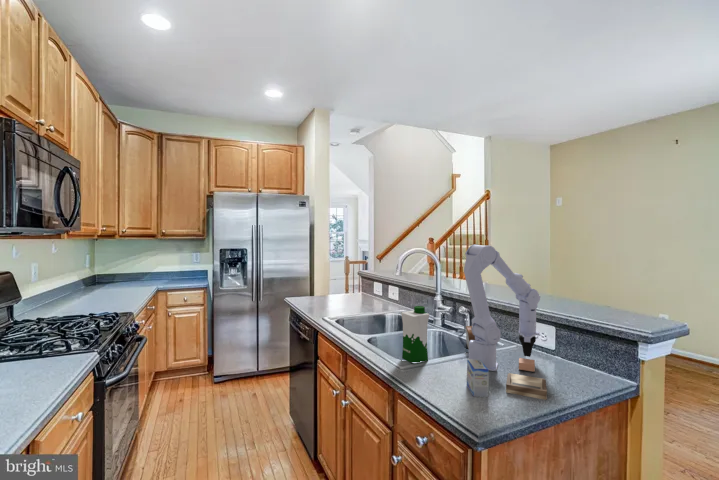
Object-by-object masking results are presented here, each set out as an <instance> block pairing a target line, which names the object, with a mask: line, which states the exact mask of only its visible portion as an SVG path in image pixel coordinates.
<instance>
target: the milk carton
mask: <svg viewBox="0 0 719 480" xmlns="http://www.w3.org/2000/svg"><path fill="white" fill-rule="evenodd" d="M413 309H414V310H413ZM413 309H412V310H406V311H402V312H401V313H400V314H401V319H402V320H401V321H402V354H401V358H402V359H403V360H404V361H406V362H408V363H410V362H420V361H425V362H428V361H429V355H428V353H429V352H428V322H429V319H430V313H428V312H426V309H425V306H423V305H414V306H413Z"/></svg>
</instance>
